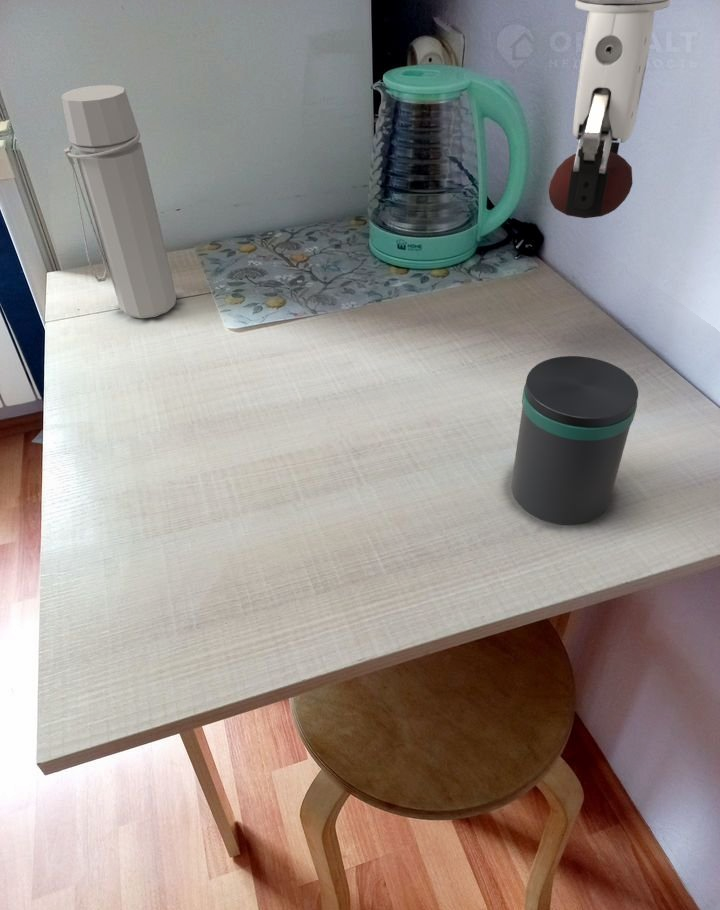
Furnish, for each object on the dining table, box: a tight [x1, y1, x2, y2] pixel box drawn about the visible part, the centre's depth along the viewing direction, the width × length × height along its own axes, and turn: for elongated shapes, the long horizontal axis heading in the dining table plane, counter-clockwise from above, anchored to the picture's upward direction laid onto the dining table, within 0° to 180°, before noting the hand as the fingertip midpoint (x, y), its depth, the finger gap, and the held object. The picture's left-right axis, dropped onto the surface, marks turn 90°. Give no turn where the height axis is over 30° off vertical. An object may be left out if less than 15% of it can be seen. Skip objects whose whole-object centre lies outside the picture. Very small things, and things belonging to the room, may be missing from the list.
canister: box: [511, 355, 639, 526], centre depth 58 cm, size 9×9×11 cm
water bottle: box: [61, 84, 177, 319], centre depth 82 cm, size 9×8×25 cm
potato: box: [548, 152, 633, 219], centre depth 68 cm, size 7×8×6 cm
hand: (589, 197), depth 69 cm, fingers closed on potato, 8 cm apart
